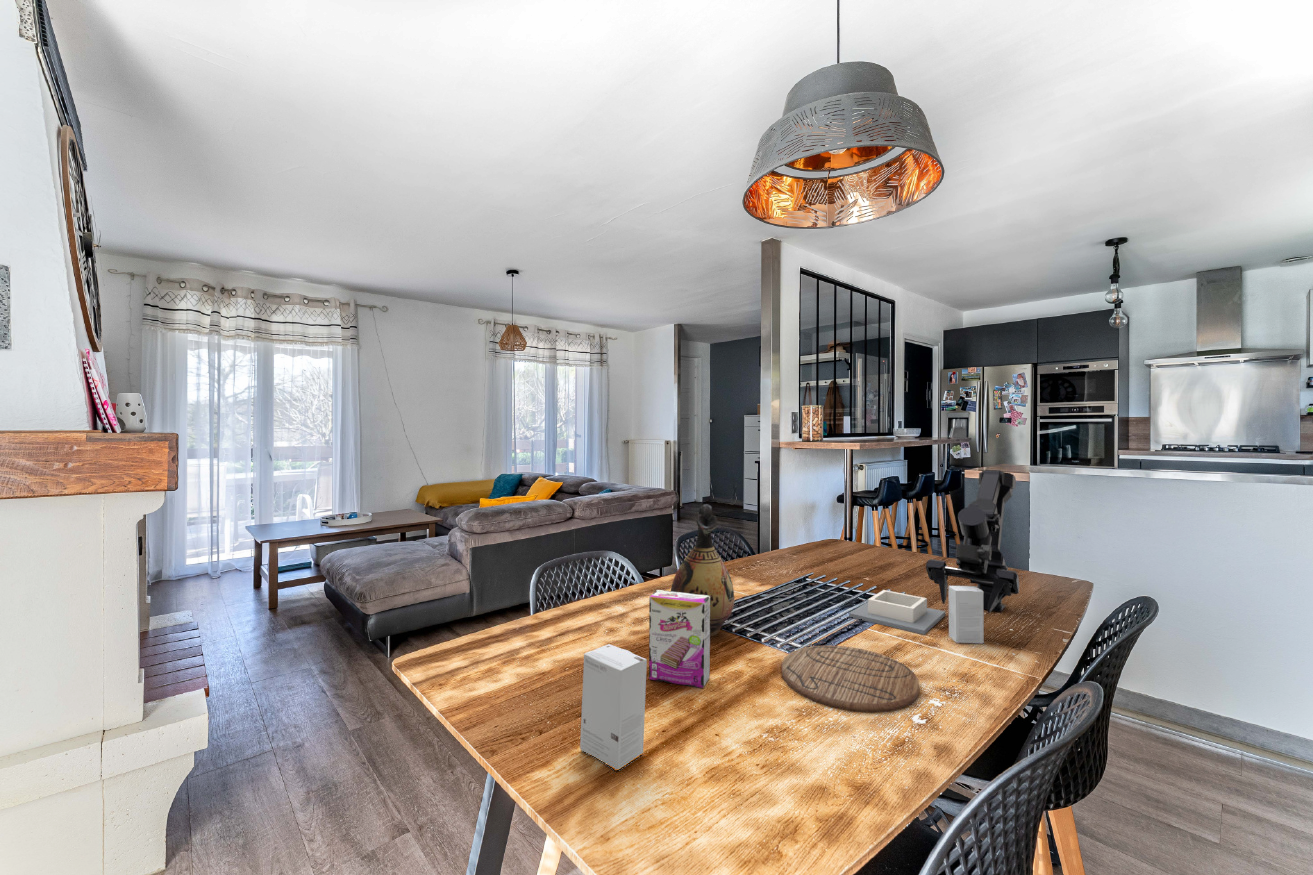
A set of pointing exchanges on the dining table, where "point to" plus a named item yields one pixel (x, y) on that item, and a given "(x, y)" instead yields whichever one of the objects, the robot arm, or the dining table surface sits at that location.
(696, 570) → the ceramic jug
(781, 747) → the dining table surface
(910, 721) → the dining table surface
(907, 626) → the slate board
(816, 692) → the trivet
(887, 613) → the holder
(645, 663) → the skincare box
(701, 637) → the candy bar box
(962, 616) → the skincare box
